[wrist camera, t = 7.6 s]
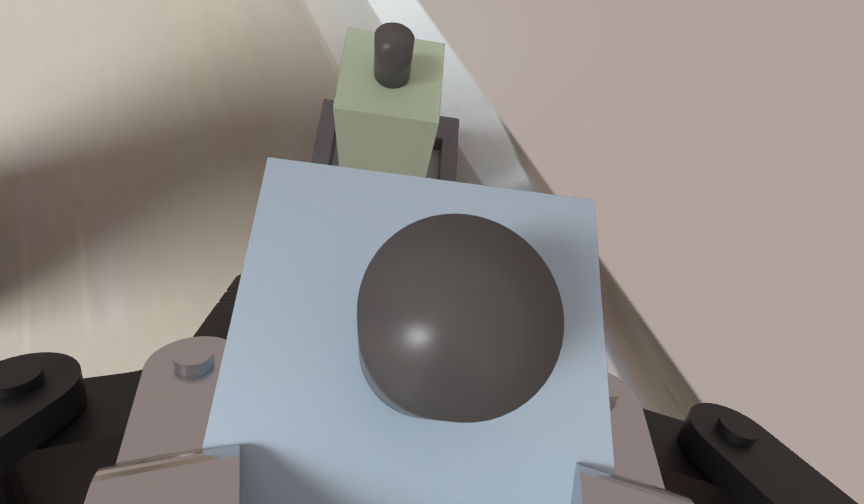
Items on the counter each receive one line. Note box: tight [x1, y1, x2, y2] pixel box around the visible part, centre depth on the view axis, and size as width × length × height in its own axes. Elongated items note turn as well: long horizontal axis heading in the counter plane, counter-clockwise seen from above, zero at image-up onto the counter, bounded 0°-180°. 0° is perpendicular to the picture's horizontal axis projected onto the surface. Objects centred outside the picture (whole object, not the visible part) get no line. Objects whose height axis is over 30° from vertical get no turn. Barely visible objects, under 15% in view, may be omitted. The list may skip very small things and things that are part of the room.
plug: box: [202, 157, 615, 504], centre depth 9 cm, size 4×4×12 cm
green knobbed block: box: [333, 23, 445, 178], centre depth 23 cm, size 4×4×12 cm
